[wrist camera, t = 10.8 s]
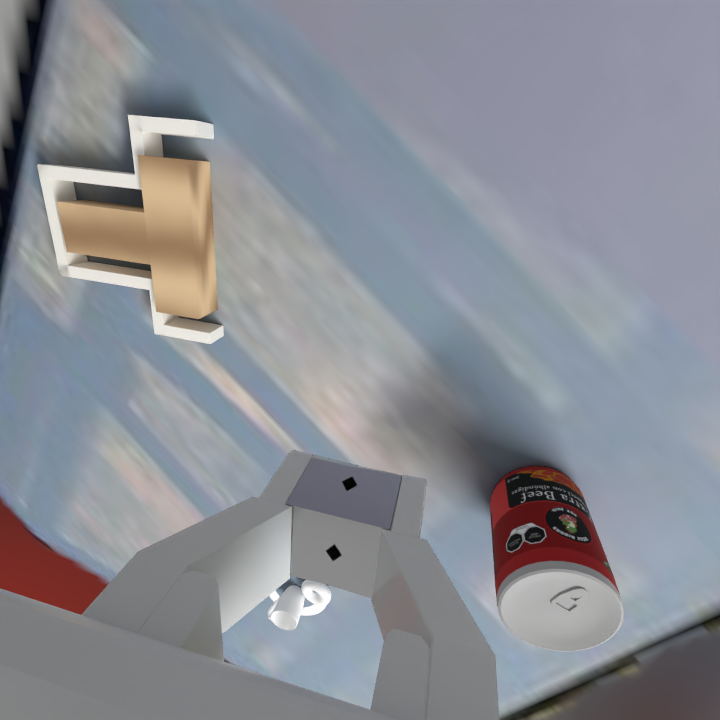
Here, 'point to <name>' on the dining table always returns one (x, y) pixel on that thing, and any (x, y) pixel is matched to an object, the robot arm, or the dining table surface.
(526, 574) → the canned food
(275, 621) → the white looped piece
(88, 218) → the t block
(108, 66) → the dining table surface
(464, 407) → the dining table surface
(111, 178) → the t socket
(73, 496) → the dining table surface
